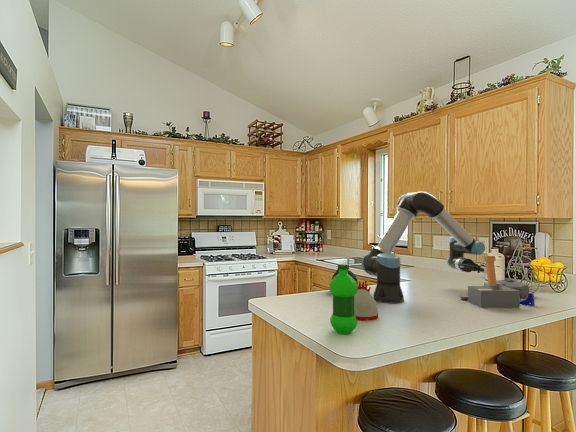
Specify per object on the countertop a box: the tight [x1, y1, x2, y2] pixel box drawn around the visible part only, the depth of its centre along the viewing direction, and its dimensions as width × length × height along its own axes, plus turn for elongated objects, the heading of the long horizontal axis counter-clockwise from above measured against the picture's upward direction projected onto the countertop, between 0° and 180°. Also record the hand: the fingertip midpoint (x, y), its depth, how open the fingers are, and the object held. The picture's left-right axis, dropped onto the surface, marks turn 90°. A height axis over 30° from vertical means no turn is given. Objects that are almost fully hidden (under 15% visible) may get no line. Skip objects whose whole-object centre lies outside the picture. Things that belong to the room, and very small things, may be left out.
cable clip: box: [520, 292, 535, 307], centre depth 170 cm, size 12×4×6 cm, turn 43°
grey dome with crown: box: [354, 281, 379, 322], centre depth 147 cm, size 14×14×15 cm
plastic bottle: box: [328, 263, 359, 335], centre depth 126 cm, size 10×10×25 cm
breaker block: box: [467, 282, 521, 309], centre depth 166 cm, size 18×12×10 cm, turn 89°
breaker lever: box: [483, 255, 497, 288], centre depth 168 cm, size 4×3×15 cm
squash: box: [330, 268, 359, 286], centre depth 198 cm, size 14×15×15 cm
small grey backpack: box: [496, 279, 530, 299], centre depth 190 cm, size 15×8×20 cm
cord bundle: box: [460, 296, 468, 301], centre depth 176 cm, size 21×3×1 cm, turn 89°
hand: (489, 270), depth 171 cm, fingers closed
